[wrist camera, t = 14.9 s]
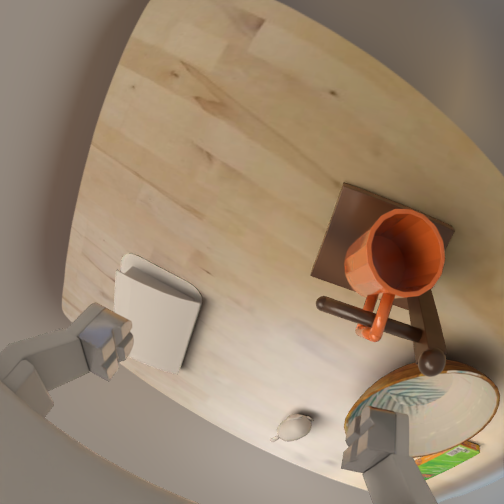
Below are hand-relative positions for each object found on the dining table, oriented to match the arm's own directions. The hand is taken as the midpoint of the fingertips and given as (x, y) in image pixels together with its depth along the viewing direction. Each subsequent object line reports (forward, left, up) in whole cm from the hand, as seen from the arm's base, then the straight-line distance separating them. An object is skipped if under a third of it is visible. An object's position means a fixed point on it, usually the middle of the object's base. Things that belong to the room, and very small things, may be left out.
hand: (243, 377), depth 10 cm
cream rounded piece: (+48, +11, -29) cm, 57 cm away
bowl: (+27, +27, -29) cm, 48 cm away
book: (+33, -20, -29) cm, 48 cm away
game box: (+51, +50, -29) cm, 77 cm away
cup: (+7, +8, -21) cm, 23 cm away
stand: (+7, +9, -28) cm, 31 cm away
